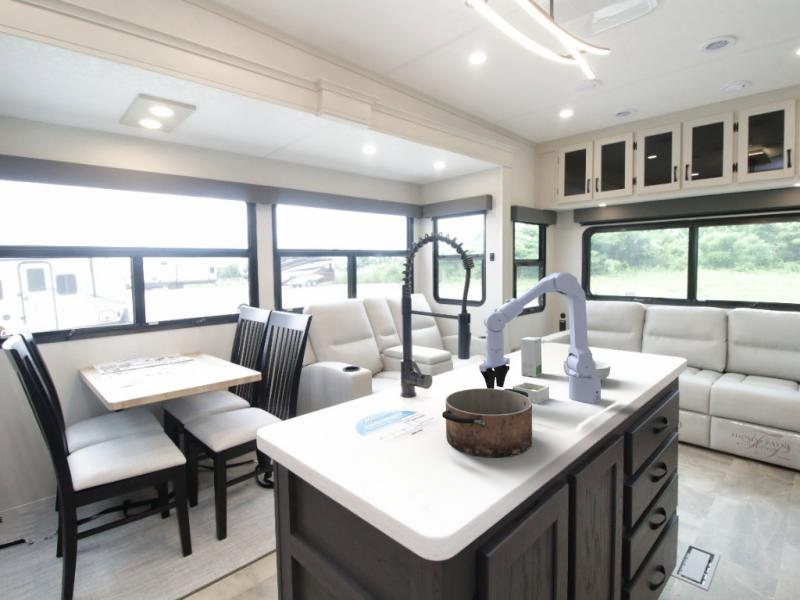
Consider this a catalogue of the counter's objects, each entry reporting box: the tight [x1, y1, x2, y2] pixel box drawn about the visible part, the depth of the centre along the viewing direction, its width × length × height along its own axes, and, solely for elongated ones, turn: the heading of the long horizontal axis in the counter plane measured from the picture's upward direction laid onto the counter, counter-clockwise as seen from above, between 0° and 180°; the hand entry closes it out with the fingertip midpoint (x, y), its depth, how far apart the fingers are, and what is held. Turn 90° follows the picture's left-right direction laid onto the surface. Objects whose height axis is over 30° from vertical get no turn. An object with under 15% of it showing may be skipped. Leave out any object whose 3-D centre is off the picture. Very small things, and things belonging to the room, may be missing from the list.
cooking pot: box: [441, 387, 533, 459], centre depth 109 cm, size 30×22×11 cm
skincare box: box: [520, 336, 543, 378], centre depth 173 cm, size 8×7×16 cm
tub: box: [512, 381, 550, 405], centre depth 140 cm, size 9×8×4 cm
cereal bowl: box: [563, 360, 611, 381], centre depth 161 cm, size 17×17×7 cm
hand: (495, 388), depth 138 cm, fingers open, 5 cm apart
